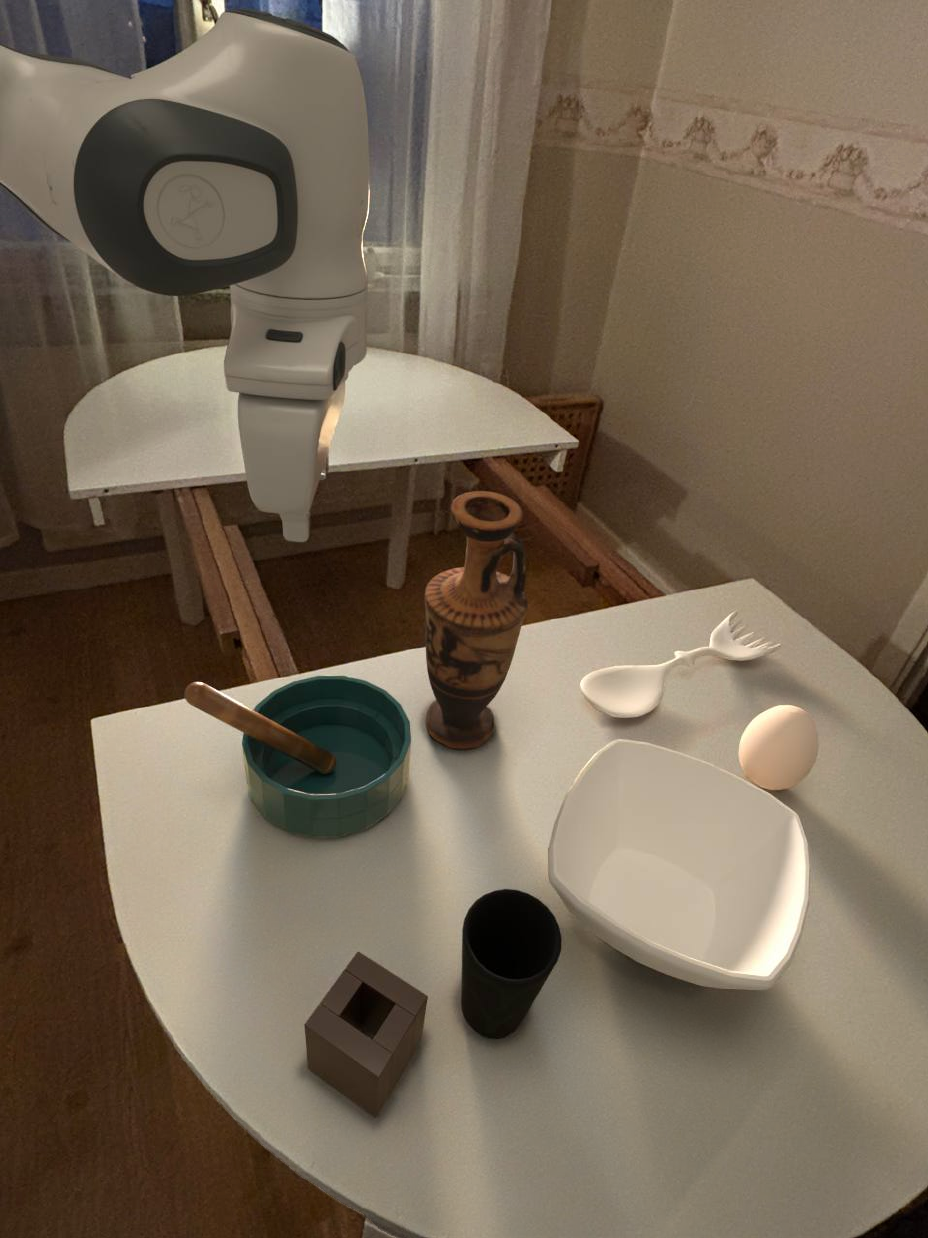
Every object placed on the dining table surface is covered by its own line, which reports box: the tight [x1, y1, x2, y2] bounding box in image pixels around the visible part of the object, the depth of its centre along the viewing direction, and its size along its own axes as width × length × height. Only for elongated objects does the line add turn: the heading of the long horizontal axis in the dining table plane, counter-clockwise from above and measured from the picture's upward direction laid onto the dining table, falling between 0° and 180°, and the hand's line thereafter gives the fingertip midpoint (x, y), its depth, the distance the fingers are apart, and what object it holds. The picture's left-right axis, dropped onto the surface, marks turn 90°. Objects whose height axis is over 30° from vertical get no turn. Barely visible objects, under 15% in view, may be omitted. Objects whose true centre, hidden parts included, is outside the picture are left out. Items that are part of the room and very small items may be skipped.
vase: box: [424, 490, 529, 750], centre depth 80 cm, size 11×11×30 cm
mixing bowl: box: [241, 675, 412, 839], centre depth 79 cm, size 17×17×7 cm
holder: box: [304, 950, 429, 1119], centre depth 57 cm, size 7×7×8 cm
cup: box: [460, 888, 563, 1040], centre depth 60 cm, size 8×8×12 cm
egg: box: [738, 704, 819, 791], centre depth 84 cm, size 8×8×11 cm
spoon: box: [579, 610, 783, 719], centre depth 99 cm, size 9×32×4 cm, turn 122°
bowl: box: [547, 738, 811, 991], centre depth 69 cm, size 22×22×12 cm
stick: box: [184, 681, 336, 774], centre depth 76 cm, size 2×2×18 cm
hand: (307, 504), depth 58 cm, fingers open, 8 cm apart
